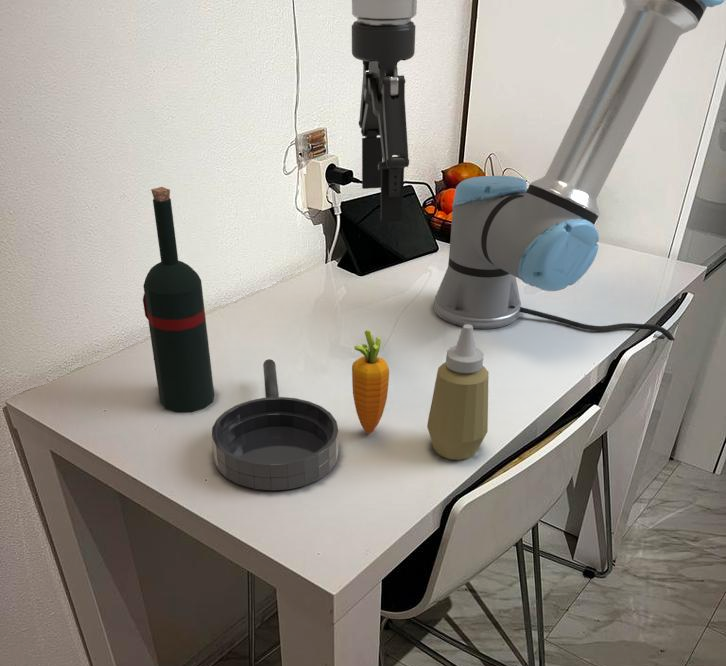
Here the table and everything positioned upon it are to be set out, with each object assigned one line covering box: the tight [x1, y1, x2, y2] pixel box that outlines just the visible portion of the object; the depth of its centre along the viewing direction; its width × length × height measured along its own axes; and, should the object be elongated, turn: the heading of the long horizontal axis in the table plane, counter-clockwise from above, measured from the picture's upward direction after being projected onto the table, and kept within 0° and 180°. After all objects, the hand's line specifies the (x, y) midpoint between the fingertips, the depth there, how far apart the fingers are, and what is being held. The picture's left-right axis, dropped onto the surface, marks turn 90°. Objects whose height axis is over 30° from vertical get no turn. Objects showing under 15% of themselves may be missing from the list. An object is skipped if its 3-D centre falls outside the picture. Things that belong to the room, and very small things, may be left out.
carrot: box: [351, 329, 390, 435], centre depth 106 cm, size 5×5×15 cm
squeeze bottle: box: [426, 324, 490, 461], centre depth 103 cm, size 8×8×18 cm
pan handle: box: [262, 358, 280, 398], centre depth 115 cm, size 2×12×2 cm, turn 8°
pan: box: [211, 396, 339, 491], centre depth 105 cm, size 16×16×4 cm
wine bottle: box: [142, 186, 215, 413], centre depth 109 cm, size 8×10×30 cm
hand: (381, 203), depth 106 cm, fingers open, 13 cm apart
